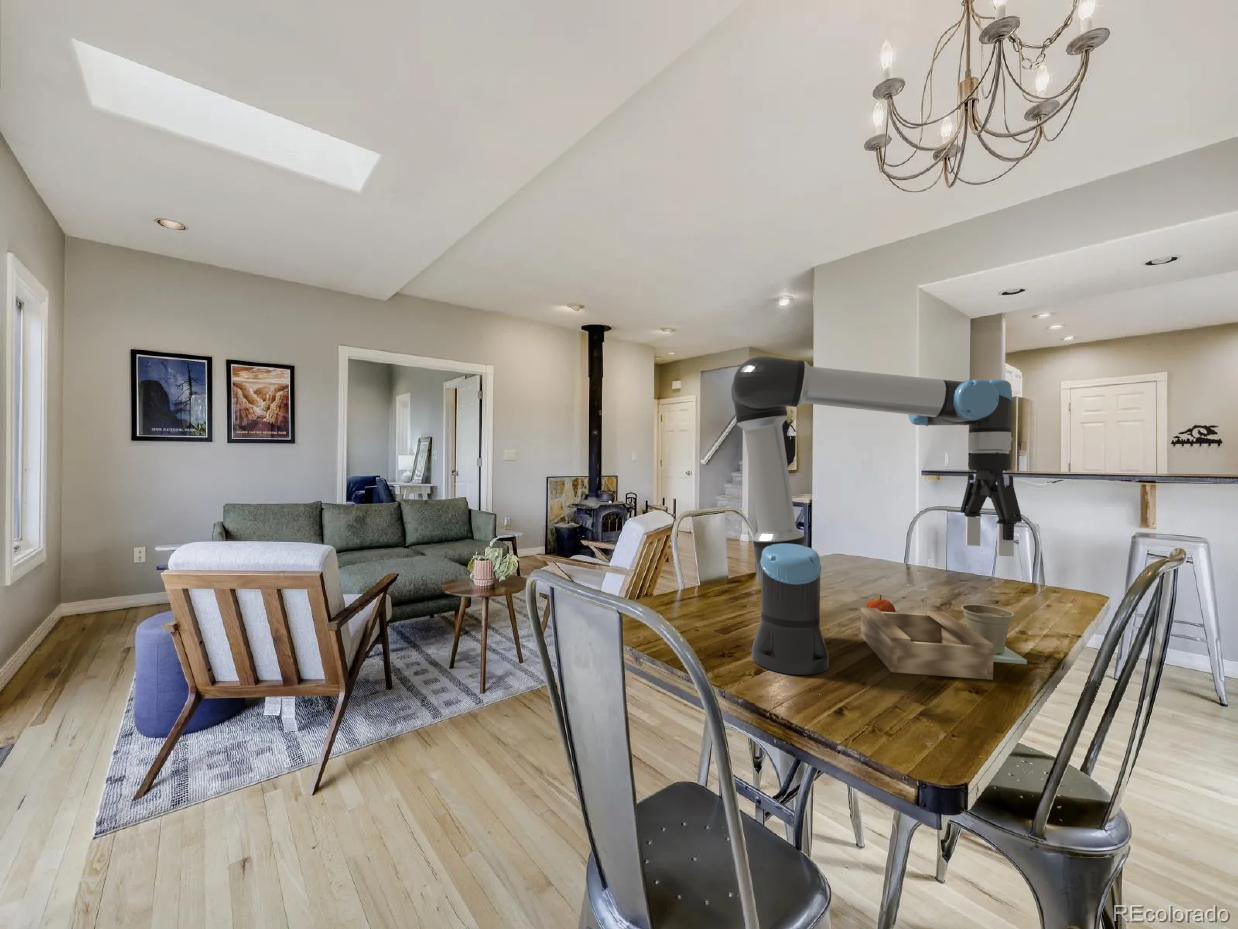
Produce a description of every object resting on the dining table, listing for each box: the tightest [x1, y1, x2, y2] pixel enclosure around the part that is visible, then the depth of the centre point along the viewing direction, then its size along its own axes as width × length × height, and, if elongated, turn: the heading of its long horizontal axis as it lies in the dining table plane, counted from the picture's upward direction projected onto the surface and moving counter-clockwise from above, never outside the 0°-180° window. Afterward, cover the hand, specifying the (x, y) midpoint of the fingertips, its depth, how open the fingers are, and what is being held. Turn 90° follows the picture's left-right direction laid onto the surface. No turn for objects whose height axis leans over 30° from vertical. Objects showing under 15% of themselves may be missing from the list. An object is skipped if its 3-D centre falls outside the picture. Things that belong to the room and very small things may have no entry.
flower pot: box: [960, 603, 1015, 654], centre depth 113 cm, size 9×9×9 cm
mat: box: [993, 646, 1028, 665], centre depth 113 cm, size 10×10×1 cm
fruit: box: [865, 594, 897, 613], centre depth 132 cm, size 7×7×8 cm
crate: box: [860, 606, 994, 681], centre depth 112 cm, size 18×22×7 cm
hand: (988, 550), depth 113 cm, fingers open, 13 cm apart
